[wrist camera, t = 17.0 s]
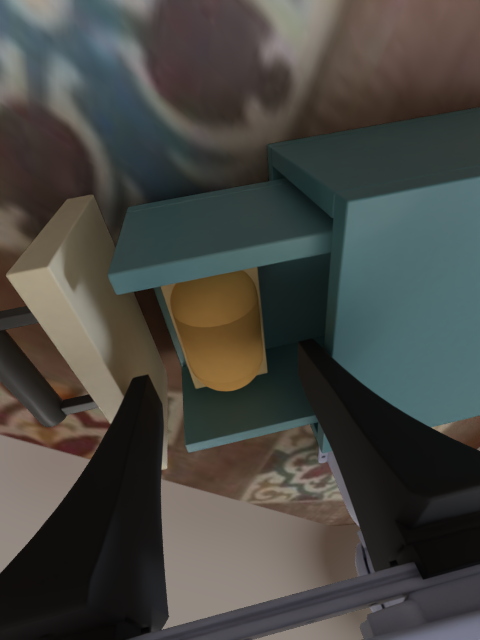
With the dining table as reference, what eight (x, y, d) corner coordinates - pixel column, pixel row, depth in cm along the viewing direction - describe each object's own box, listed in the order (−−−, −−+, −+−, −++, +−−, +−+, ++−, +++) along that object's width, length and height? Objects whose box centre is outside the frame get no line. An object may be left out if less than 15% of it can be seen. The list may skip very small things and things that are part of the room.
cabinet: (278, 346, 23) (321, 454, 17) (266, 144, 15) (347, 201, 8) (470, 304, 24) (583, 390, 18) (565, 91, 16) (854, 104, 9)
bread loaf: (257, 340, 20) (275, 397, 16) (192, 354, 20) (197, 415, 16) (243, 227, 15) (266, 273, 11) (157, 243, 15) (154, 296, 11)
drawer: (80, 393, 21) (51, 496, 16) (-47, 219, 13) (-184, 311, 8) (347, 334, 23) (402, 413, 17) (374, 143, 15) (488, 181, 9)
